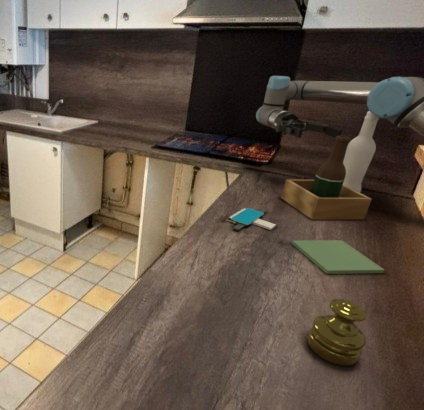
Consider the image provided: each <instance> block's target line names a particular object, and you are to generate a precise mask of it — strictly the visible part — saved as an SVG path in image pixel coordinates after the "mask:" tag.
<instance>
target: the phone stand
mask: <svg viewBox="0 0 424 410" xmlns="http://www.w3.org/2000/svg"><path fill="white" fill-rule="evenodd" d="M266 213H267V210H266V209H263V208H260V209H259V210H256V209H253V208H250V207H246V206H243V207H242V208H240V209H238V210H237V211H235V212H233V213H231V214H230V215H228V217H227V218H225V220H224V221H225V222H228V223H231V224H233V226H232V228H233V229H232V230H233V231H235V232H240V231H242V230H243V229H245V228H246V227H248V226H251V225H255V226H257V227H260V228H264V229H266V230H269V231H272V230H273V229H274V228H275V227H276V226H277V224H276V223H273V222H270V221H267V220H264V219H261V217H263V216H264V215H265V214H266Z"/></svg>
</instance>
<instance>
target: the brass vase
mask: <svg viewBox="0 0 424 410" xmlns="http://www.w3.org/2000/svg"><path fill="white" fill-rule="evenodd" d="M329 308H330V310H331V311H332V312H333V313H334V314H323V315H322V314H321V315H319V316H317V317H315V318H314V320H313V322H312V327H311V328H310V329H309V333H308V337H307V344H308V346H309V347H310V349H311V350H312V351H313V352H314V353H315V354H316V355H318V357H320V358H322V359H323V360H324V361H327V362H329V363H331V364H335V365H338V366H352V365H354V364H356V363H357V361H358V360H359V357H360V355H362V349H363V348H364V347H365V345H366V336H365V334H364V332H363V331H362V330H361V329H360V328H359V327H358V326H357V325H356V324H355V323H356V322H363V321H365V320H366V319H367V316H368V315H367V314H368V313H367V312H366V310H365V309H364V308H363V307H362V306H360V305H359V304H358V303H355V302H354V301H352V300H349V299H346V298H345V299H344V298H334V299H331V300H330V302H329Z"/></svg>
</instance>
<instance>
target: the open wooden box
mask: <svg viewBox="0 0 424 410" xmlns="http://www.w3.org/2000/svg"><path fill="white" fill-rule="evenodd" d="M313 183H314V179H291V178H290V179H288V178H286V179H285V181H284V185H283V189H282V193H281V197H280V198H281V200H283V201H284V202H286V203H287V204H289V205H290V206H291V207H293V208H294V209H296V210H297V211H299V212H300V213H302V214H303V215H304V216H306V217H307V218H309V219H310V220H365V217H366V216H367V213H368V210H369V207H370V205H371V202H372V200H373V199H372V198H371V197H369V196H367V195H365V194H363V193H361V192H360V193H359V192H357V191H355V190H353V189H351V188H349V187H347V186H345V185H342V188H341V191H340V194H339V197H338V198H319V197H318V196H316V195H314V194H313V193H311V189H312V186H313Z"/></svg>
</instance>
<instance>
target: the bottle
mask: <svg viewBox="0 0 424 410" xmlns="http://www.w3.org/2000/svg"><path fill="white" fill-rule="evenodd" d="M379 120H380V117H377V116H375V115H373V114H372V113H371V112H370V111H369V110H367V112H366V115H365V116H364V120H363V122H362V126H361V128H360V130H359V133H358V135H357V136H356V137H354V138H352V140H350V141H349V142H348V143H347V147H346V151H345V155H344V160H343V164H344V166H345V169H346V175H345V180H344V182H343V185H345V186H347V187H349V188H351V189H353V190H355V191H357V192H359V193H361V192H362V183H363V180H364V178H365V175H366V173H367V171H368V169H369V166H370V164H371V162H372V159H373V158H374V155H375V153H376V148H377V146H376V145H377V144H376V142H375V140H374V138H373V136H374V133H375V130H376V127H377V123H378V122H379Z"/></svg>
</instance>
